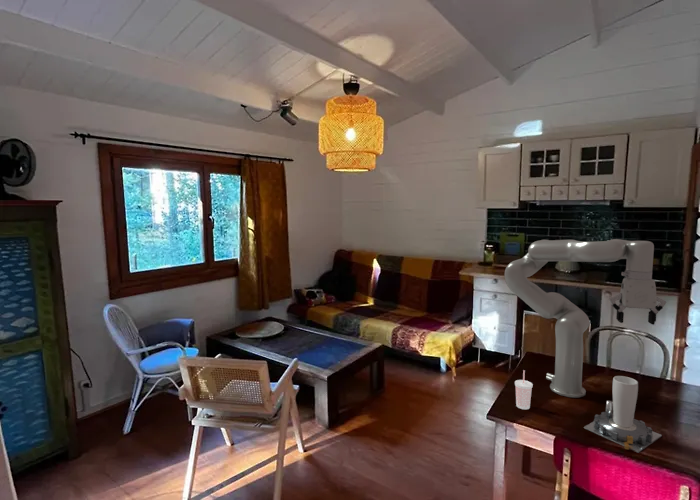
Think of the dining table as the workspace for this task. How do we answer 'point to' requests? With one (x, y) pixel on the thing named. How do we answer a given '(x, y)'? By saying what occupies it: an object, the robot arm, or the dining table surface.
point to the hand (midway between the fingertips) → (635, 322)
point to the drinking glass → (624, 400)
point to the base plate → (635, 446)
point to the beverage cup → (523, 393)
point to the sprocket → (622, 428)
